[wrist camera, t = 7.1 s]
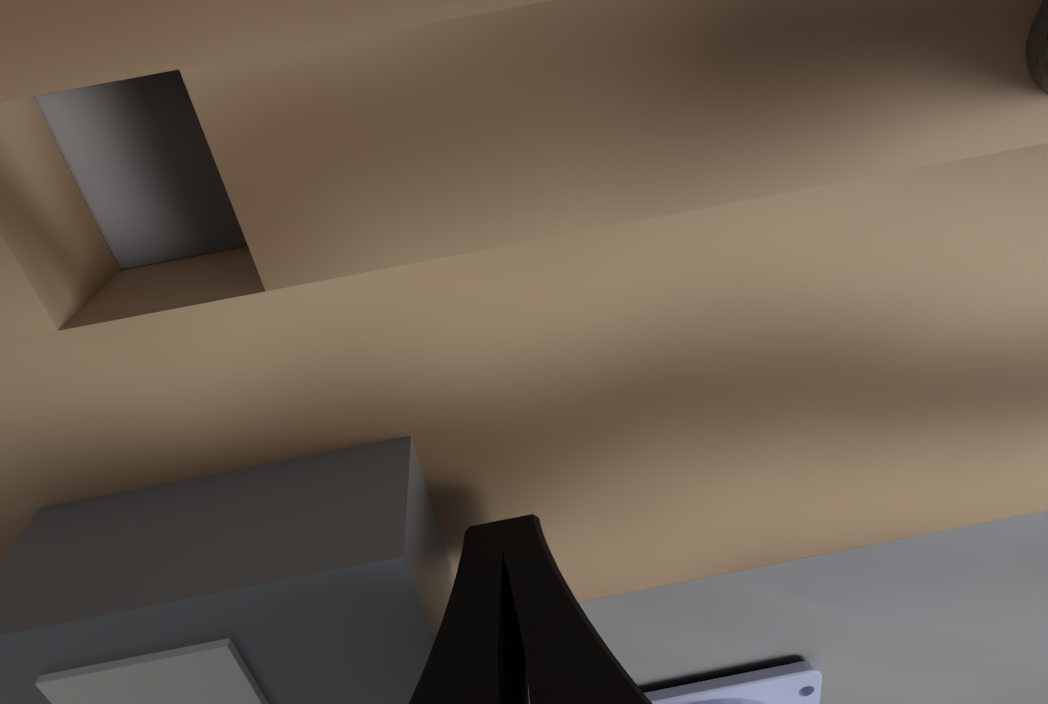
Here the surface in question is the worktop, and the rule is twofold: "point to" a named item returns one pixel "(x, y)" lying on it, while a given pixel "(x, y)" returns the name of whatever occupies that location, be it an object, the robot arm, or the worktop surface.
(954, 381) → the board
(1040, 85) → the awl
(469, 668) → the robot arm
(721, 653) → the worktop surface
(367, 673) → the block
